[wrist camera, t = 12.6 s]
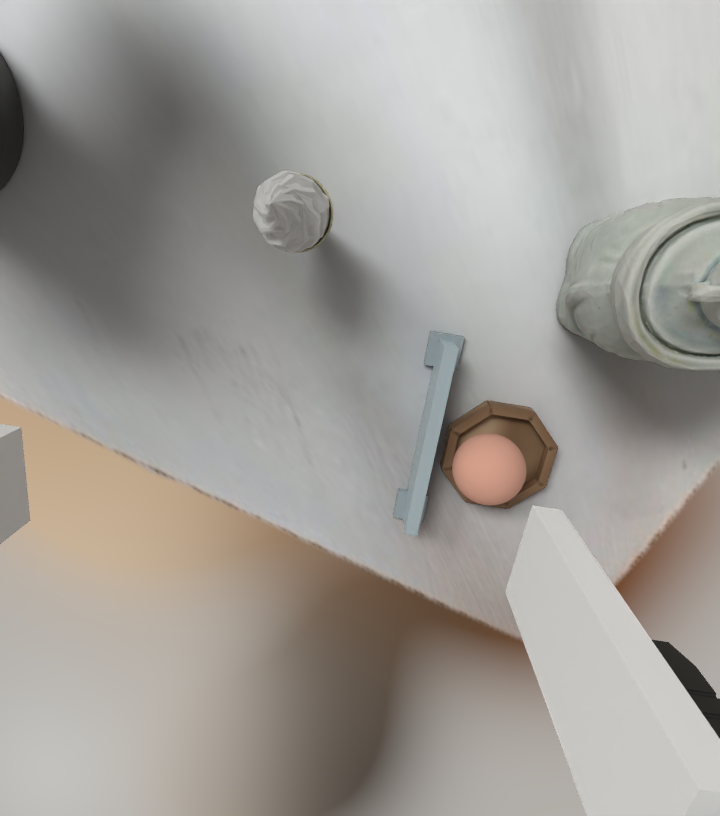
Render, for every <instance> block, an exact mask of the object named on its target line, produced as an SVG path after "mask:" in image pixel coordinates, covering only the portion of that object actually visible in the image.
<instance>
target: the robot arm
mask: <svg viewBox="0 0 720 816" xmlns="http://www.w3.org/2000/svg"><path fill="white" fill-rule="evenodd" d="M22 141H23V116H22V109H21V104H20V99H19V95H18V92H17V88H16V86H15V83H14V80H13V78H12V75H11V73H10V71H9V69H8V67H7V65H6V63H5V61H4V59H3V58H2V56H1V54H0V190H1V188H2V187H3V186H4V185H5V184H6V183H7V182H8V180H9V179H10V177H11V176H12V174H13V172H14V170H15V168H16V165H17V163H18V160H19V157H20V153H21V148H22ZM29 521H30V514H29V503H28V493H27V483H26V472H25V462H24V453H23V441H22V431H21V427H16V426H9V425H3V424H0V544H1V543H2V542H3V541H4V540H6V539H7V538H8V537H10V536H11V535H12V534H13V533H15V532H16V531H17V530H19V529H20V528H21V527H22V526H24V525H25V524H26V523H27V522H29ZM506 595H507V598H508V601H509V603H510V606H511V609H512V612H513V614H514V617H515V620H516V623H517V625H518V628H519V631H520V634H521V637H522V639H523V642H524V645H525V648H526V650H527V653H528V656H529V658H530V661H531V664H532V667H533V670H534V672H535V675H536V678H537V681H538V683H539V686H540V689H541V692H542V694H543V697H544V700H545V702H546V705H547V708H548V711H549V714H550V716H551V719H552V722H553V725H554V727H555V730H556V733H557V736H558V738H559V741H560V744H561V746H562V749H563V752H564V755H565V758H566V760H567V763H568V766H569V769H570V771H571V774H572V777H573V779H574V782H575V785H576V788H577V790H578V793H579V796H580V799H581V802H582V804H583V807H584V810H585V813H586V815H587V816H720V699H717V698H716V693H715V692H714V690H713V689H712V687H711V686H710V685H709V684H708V682H707V681H706V679H705V678H704V677H703V675H702V674H701V673H700V672H699V670H698V669H697V668H696V666H694V664H692V663H691V662H690V661H689V660H688V659H687V658H685V657H684V656H683V655H682V654H681V653H680V652H679V651H678V650H676V649H675V648H674V647H673V646H672V645H671V644H670V643H669V642H663V641H656V640H651V639H650V637H649V636H648V634H647V633H646V631H645V630H644V628H643V627H642V626H641V624H640V623H639V621H638V620H637V618H636V617H635V615H634V614H633V612H632V611H631V610H630V608H629V607H628V605H627V604H626V602H625V601H624V600H623V598H622V597H621V595H620V594H619V592H618V591H617V589H616V588H615V586H614V585H613V583H612V582H611V581H610V579H609V578H608V576H607V575H606V573H605V572H604V570H603V569H602V568H601V566H600V565H599V563H598V562H597V560H596V559H595V557H594V556H593V554H592V553H591V552H590V550H589V549H588V547H587V546H586V544H585V543H584V541H583V540H582V539H581V537H580V536H579V534H578V533H577V531H576V530H575V528H574V527H573V526H572V524H571V523H570V521H569V520H568V518H567V517H566V515H565V514H564V512H563V511H562V510H559V509H553V508H546V507H540V506H533V505H532V508H531V511H530V514H529V518H528V521H527V524H526V527H525V530H524V534H523V537H522V540H521V543H520V547H519V550H518V553H517V556H516V559H515V563H514V566H513V569H512V572H511V575H510V579H509V582H508V585H507V588H506Z"/></svg>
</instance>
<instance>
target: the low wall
mask: <svg viewBox="0 0 720 816" xmlns="http://www.w3.org/2000/svg"><path fill="white" fill-rule="evenodd" d="M463 342H464V336H458V335H452V334H446V333H440V332H434V331H430V335H429V340H428V345H427V350H426V355H425V360H424V365H429V366H433V369H432V374H431V379H430V384H429V389H428V393H427V398H426V403H425V408H424V413H423V417H422V422H421V427H420V432H419V437H418V441H417V446H416V451H415V456H414V461H413V465H412V470H411V475H410V480H409V485H408V489H407V490H404V489H398V494H397V499H396V504H395V509H394V514H393V518H399V519H403V521H404V534H408V535H414V536H417V533H418V529H419V524H420V522H423V519H424V514H425V510H426V505H427V501H428V497H429V496H428V493H427V489H428V484H429V480H430V475H431V471H432V466H433V462H434V457H435V453H436V448H437V444H438V439H439V435H440V431H441V426H442V422H443V417H444V413H445V408H446V404H447V399H448V395H449V390H450V386H451V381H452V377H453V372H454V370H457V368H458V364H459V359H460V355H461V350H462V346H463Z"/></svg>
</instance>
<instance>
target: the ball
mask: <svg viewBox="0 0 720 816" xmlns="http://www.w3.org/2000/svg"><path fill="white" fill-rule="evenodd" d="M452 473H453V478H454V481H455V483H456V485H457V487H458V488H459V490H460V491H461V492H462V493H463V494H464V495H465V496H466V497H467V498H468V499H470V500H472V501H474V502H476V503H479V504H482V505H498V504H502V503H505V502H507V501H509V500H511V499H512V498H513V497H515V496H516V495H517V494H518V492H519V491H520V490H521V488H522V486H523V485H524V482H525V479H526V463H525V459H524V456H523V454H522V453H521V451H520V449H519V448H518V447H517V446H516V445H515V444H514V443H513V442H512V441H511V440H509V439H508V438H506V437H504V436H501V435H498V434H493V433H483V434H478V435H475V436H473V437H470V438H469V439H467V440H466V441H465V442H463V443H462V444H461V446H460V447H459V448H458V450H457V451H456V453H455V455H454V459H453V463H452Z"/></svg>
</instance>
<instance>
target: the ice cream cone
mask: <svg viewBox="0 0 720 816" xmlns="http://www.w3.org/2000/svg"><path fill="white" fill-rule="evenodd" d="M253 205H254V210H253V220H254V221H255V223H256V225H257V227H258V228H259V230H260V232H261V233H262V235H263V237H264V238H265V240H266V241H267V243H268V244H272V245H274V246H275V247H278V248H280V249H282V250H284V251H286V252H305V251H309V250H311V249H313V248H315V247H317V246H318V245H319V244H321V243H322V242H323V240H324V239H325V238H326V237H327V235H328V233H329V231H330V229H331V226H332V221H333V207H332V202H331V199H330V197H329V195H328V193H327V191H326V190H325V188H324V187H323V185H321V184H320V183H319V182H318V181H317V180H316V179H314V178H313V177H311V176H308V175H306V174H302V173H297V172H293V171H287V170H283V171H281V172H279V173H277V174H276V175H274V176H272V177H270V178H269V179H267V180H266V181H265V182H263V183H262V184H261V185H260V186H258V188H257V192H256V196H255V200H254V204H253Z"/></svg>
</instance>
